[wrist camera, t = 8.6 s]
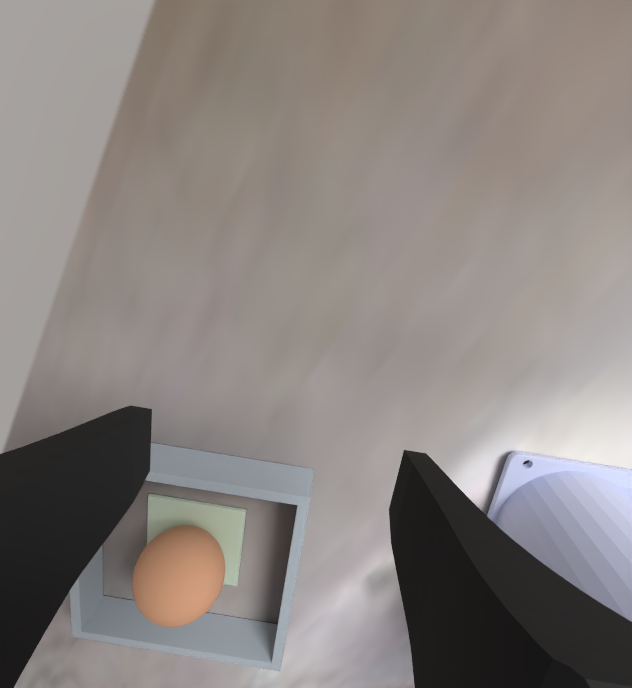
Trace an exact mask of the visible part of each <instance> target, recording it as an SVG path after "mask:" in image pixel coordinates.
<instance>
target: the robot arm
mask: <svg viewBox="0 0 632 688" xmlns="http://www.w3.org/2000/svg"><path fill="white" fill-rule="evenodd" d="M151 417H152V409H148V408H142V407H135V406H128V407H125V408H122V409H119V410H116V411H114V412H111V413H108V414H106V415H103V416H101V417H99V418H96V419H94V420H91V421H89V422H86V423H84V424H81V425H79V426H76V427H74V428H72V429H69V430H67V431H64V432H62V433H59V434H56V435H53V436H51V437H48V438H45V439H43V440H40V441H37V442H34V443H32V444H29V445H26V446H24V447H21V448H18V449H15V450H12V451H9V452H6V453H2V454H0V688H14V686H15V684H16V682H17V680H18V678H19V677H20V675H21V673H22V671H23V670H24V668H25V666H26V664H27V663H28V661H29V659H30V657H31V656H32V654H33V652H34V650H35V649H36V647H37V645H38V643H39V641H40V640H41V638H42V636H43V634H44V633H45V631H46V629H47V628H48V626H49V624H50V623H51V621H52V619H53V618H54V616H55V614H56V613H57V611H58V609H59V608H60V606H61V604H62V602H63V601H64V599H65V597H66V596H67V594H68V592H69V591H70V589H71V588H72V586H73V585H74V583H75V582H76V580H77V579H78V577H79V576H80V574H81V573H82V572H83V570H84V569H85V568H86V566H87V565H88V563H89V562H90V561H91V559H92V558H93V557H94V555H95V554H96V553H97V551H98V550H99V548H100V547H101V546H102V544H103V543H104V542H105V540H106V539H107V538H108V536H109V535H110V533H111V532H112V531H113V529H114V528H115V527H116V525H117V524H118V522H119V521H120V520H121V518H122V517H123V515H124V514H125V513H126V511H127V510H128V509H129V507H130V506H131V504H132V503H133V501H134V500H135V498H136V496H137V494H138V492H139V491H140V489H141V487H142V485H143V483H144V481H145V479H146V477H147V476H148V474H149V472H150V456H151ZM526 460H529V462H528V463H527V464H523V463H524V462H525V461H526ZM389 516H390V532H391V544H392V550H393V555H394V560H395V566H396V571H397V576H398V581H399V586H400V591H401V596H402V601H403V606H404V611H405V616H406V621H407V626H408V632H409V639H410V645H411V653H412V663H413V673H414V683H415V688H632V470H630V469H624V468H618V467H612V466H606V465H599V464H593V463H587V462H581V461H575V460H568V459H562V458H556V457H550V456H544V455H538V454H531V453H525V452H519V451H516V452H512V453H511V454H509V455H508V457H507V459H506V462H505V465H504V468H503V471H502V474H501V477H500V480H499V482H498V485H497V488H496V491H495V494H494V497H493V500H492V503H491V506H490V508H489V511H488V514H487V516H486V515H485V514H484V513H483V512H482V511H481V510H480V509H479V508H478V507H477V506H476V505H475V504H474V503H473V502H472V501H471V500H470V499H469V498H468V497H467V496H466V495H465V494H464V493H463V492H462V491H461V490H460V489H459V488H458V487H457V486H456V485H455V484H454V483H453V482H452V480H451V479H450V478H449V477H448V476H447V475H446V474H445V473H444V472H443V471H442V470H441V469H440V468H439V466H438V465H437V464H436V463H435V462H434V461H433V460H432V459H431V458H430V457H429V456H428V455H427V454H426V453H420V452H413V451H407V450H404V453H403V457H402V461H401V464H400V468H399V472H398V476H397V480H396V484H395V488H394V492H393V496H392V500H391V504H390V508H389Z"/></svg>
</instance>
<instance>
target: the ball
mask: <svg viewBox="0 0 632 688" xmlns="http://www.w3.org/2000/svg"><path fill="white" fill-rule="evenodd" d="M224 578H225V559H224V555H223V551H222V549H221V547H220V545H219V543H218V542H217V540H216V539H215V538H214V537H213V536H212V535H211V534H210V533H208V532H207V531H205V530H203V529H201V528H198V527H195V526H177V527H173V528H170V529H168V530H166V531H164V532H162V533H160V534H159V535H157V536H156V537H155V538H154V539H153V540H151V541H150V542H149V544H148V545H147V546H146V547H145V548H144V550H143V551H142V553H141V554H140V556H139V558H138V560H137V562H136V565H135V568H134V572H133V579H132V591H133V596H134V600H135V603H136V605H137V607H138V609H139V610H140V612H141V613H142V614H143V615H144V616H145V617H146V618H147V619H148V620H149V621H151V622H153V623H155V624H157V625H160V626H164V627H179V626H184V625H187V624H189V623H191V622H194V621H195V620H197V619H198V618H200V617H201V616H202V615H204V614H205V613H206V612H207V611H208V610H209V609H210V608H211V607H212V605H213V604H214V602H215V601H216V600H217V598H218V596H219V594H220V592H221V589H222V586H223V583H224Z"/></svg>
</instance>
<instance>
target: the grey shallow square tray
mask: <svg viewBox="0 0 632 688" xmlns="http://www.w3.org/2000/svg"><path fill="white" fill-rule="evenodd" d="M313 470H314V469H310V468H304V467H297V466H291V465H285V464H279V463H273V462H267V461H260V460H254V459H248V458H242V457H236V456H230V455H224V454H217V453H211V452H205V451H199V450H193V449H187V448H180V447H174V446H168V445H162V444H156V443H151V456H150V472H149V474H148V476H147V477H146V479H145V480H146V481H152V482H158V483H164V484H170V485H176V486H183V487H189V488H195V489H201V490H207V491H213V492H219V493H225V494H232V495H238V496H244V497H250V498H256V499H262V500H268V501H275V502H281V503H287V504H293V505H297V509H296V515H295V521H294V527H293V533H292V539H291V545H290V552H289V558H288V564H287V570H286V576H285V582H284V588H283V594H282V600H281V606H280V612H279V618H278V624H273V623H267V622H261V621H255V620H249V619H243V618H237V617H231V616H225V615H218V614H212V613H205V614H204V615H202V616H201V617H200V618H198V619H197V620H195V621H194V622H191V623H189V624H187V625H184V626H179V627H164V626H160V625H157V624H155V623H153V622H151V621H149V620H148V619H147V618H146V617H145V616H144V615H143V614H142V613H141V612H140V610H139V609H138V607H137V605H136V603H135V601H134V600H127V599H121V598H115V597H109V596H103V551H102V546H101V547H100V548H99V550H98V551H97V553H96V554H95V555H94V557H93V558H92V559H91V561H90V562H89V563H88V565H87V566H86V568H85V569H84V570H83V572H82V573H81V574H80V576H79V577H78V579H77V580H76V582H75V583H74V585H73V586H72V588H71V589H70V609H71V627H72V637H76V638H82V639H88V640H94V641H100V642H106V643H112V644H118V645H124V646H130V647H136V648H142V649H148V650H154V651H161V652H167V653H173V654H179V655H185V656H191V657H197V658H203V659H209V660H215V661H221V662H227V663H233V664H239V665H245V666H251V667H257V668H263V669H269V670H275V671H280V669H281V663H282V657H283V652H284V646H285V640H286V635H287V629H288V623H289V618H290V612H291V606H292V601H293V595H294V589H295V584H296V578H297V572H298V567H299V561H300V555H301V550H302V544H303V538H304V533H305V527H306V521H307V516H308V510H309V504H310V499H311V489H312V479H313ZM246 510H247V509H241V508H235V507H229V506H223V505H216V504H210V503H204V502H198V501H192V500H186V499H180V498H174V497H167V496H161V495H155V494H149V495H148V522H147V545H148V544H149V542H150V541H151V540H153V539H154V538H155V537H156V536H157V535H159V534H160V533H162V532H164V531H166V530H168V529H170V528H173V527H177V526H195V527H198V528H201V529H203V530H205V531H207V532H208V533H210V534H211V535H212V536H213V537H214V538H215V539H216V540H217V542H218V543H219V545H220V547H221V549H222V551H223V555H224V559H225V578H224V583H223V584H226V585H232V586H237V585H238V578H239V569H240V561H241V552H242V544H243V535H244V527H245V518H246Z"/></svg>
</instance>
